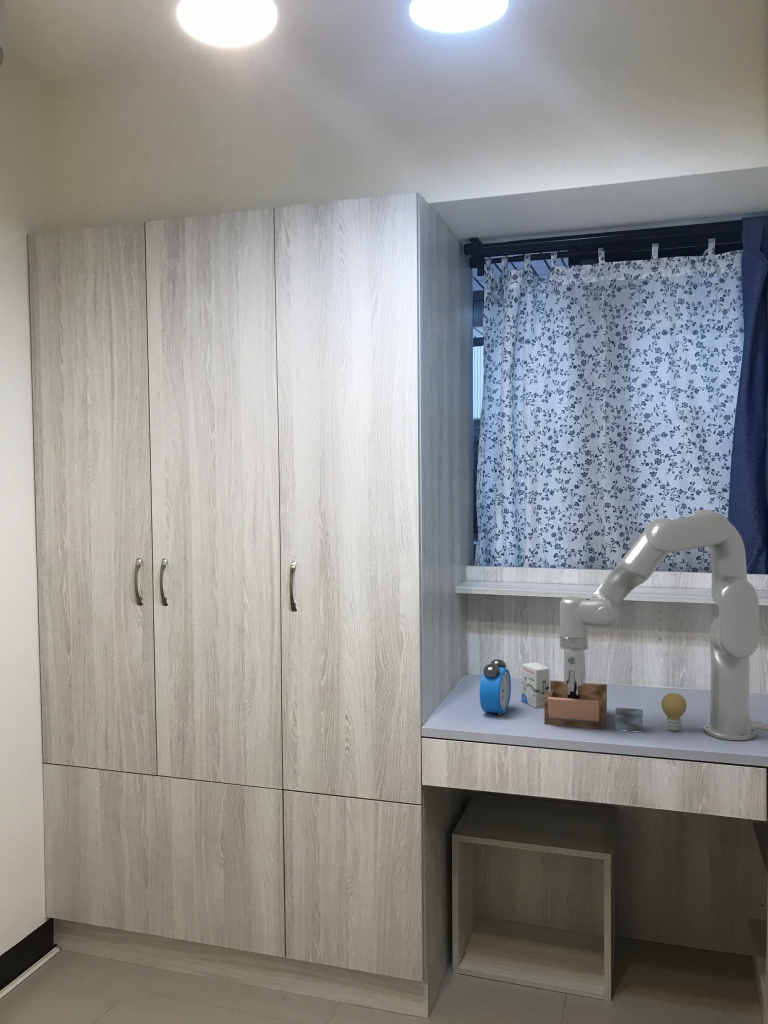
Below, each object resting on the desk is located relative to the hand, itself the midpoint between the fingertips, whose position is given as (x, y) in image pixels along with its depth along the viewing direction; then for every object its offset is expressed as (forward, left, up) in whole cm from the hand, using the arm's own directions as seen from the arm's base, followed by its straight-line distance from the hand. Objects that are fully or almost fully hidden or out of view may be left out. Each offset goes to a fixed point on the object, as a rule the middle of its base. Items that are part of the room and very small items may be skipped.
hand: (573, 708), depth 228 cm
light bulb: (-26, -4, -5) cm, 27 cm away
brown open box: (0, -8, -5) cm, 9 cm away
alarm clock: (+23, -7, -5) cm, 25 cm away
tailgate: (0, 0, -3) cm, 3 cm away
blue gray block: (-15, -2, -5) cm, 16 cm away
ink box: (+13, -19, -5) cm, 24 cm away
